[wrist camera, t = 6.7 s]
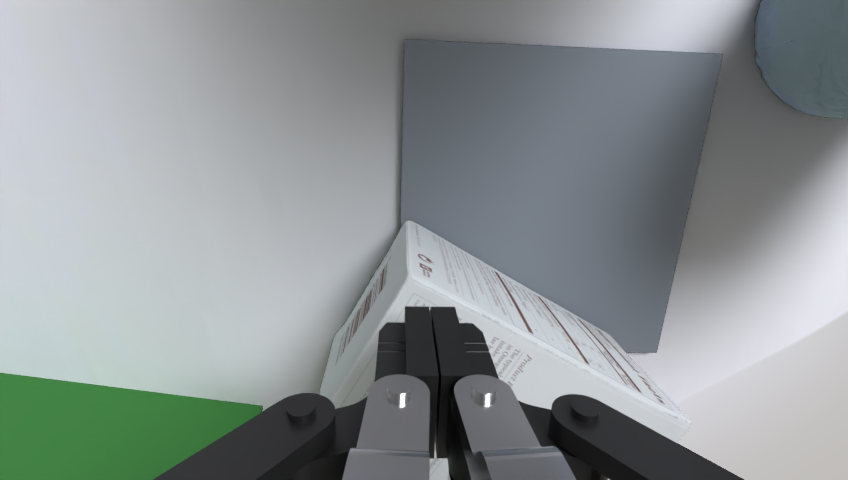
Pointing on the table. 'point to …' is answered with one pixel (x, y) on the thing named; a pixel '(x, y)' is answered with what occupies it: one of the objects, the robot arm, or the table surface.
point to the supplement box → (493, 336)
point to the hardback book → (103, 429)
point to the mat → (560, 168)
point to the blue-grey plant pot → (805, 53)
